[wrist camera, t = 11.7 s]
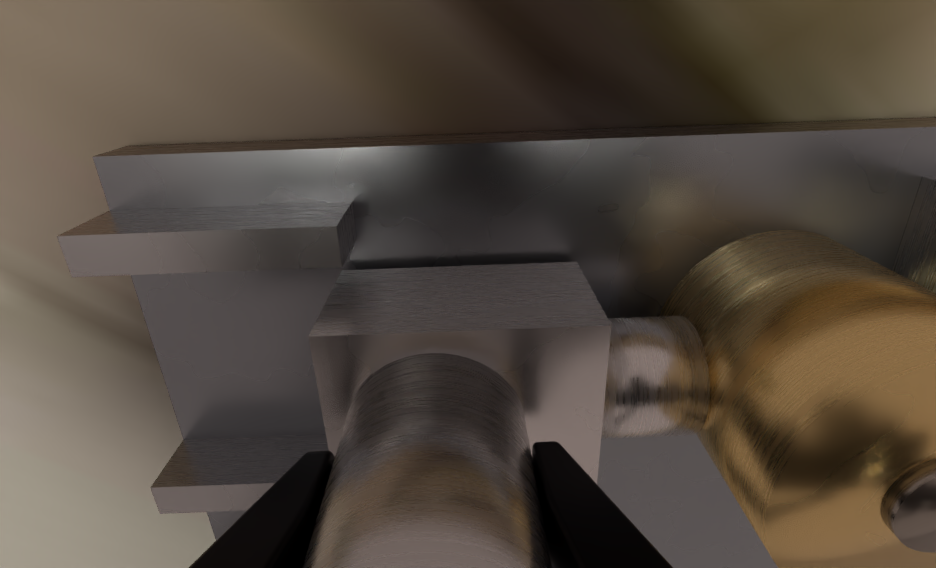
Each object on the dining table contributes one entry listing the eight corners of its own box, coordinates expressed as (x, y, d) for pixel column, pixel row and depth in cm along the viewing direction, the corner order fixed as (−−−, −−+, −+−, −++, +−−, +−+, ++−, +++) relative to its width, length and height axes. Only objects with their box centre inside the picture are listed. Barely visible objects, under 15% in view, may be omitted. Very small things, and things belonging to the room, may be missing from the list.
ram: (649, 410, 13) (926, 938, 5) (363, 421, 13) (228, 967, 5) (670, 258, 11) (1114, 707, 4) (341, 270, 11) (100, 747, 4)
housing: (838, 414, 14) (1050, 620, 9) (643, 420, 13) (746, 630, 9) (900, 225, 11) (1222, 360, 7) (669, 232, 11) (824, 372, 7)
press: (794, 580, 18) (929, 793, 13) (260, 600, 18) (181, 824, 13) (947, 116, 12) (1328, 174, 7) (126, 146, 12) (-133, 226, 6)
